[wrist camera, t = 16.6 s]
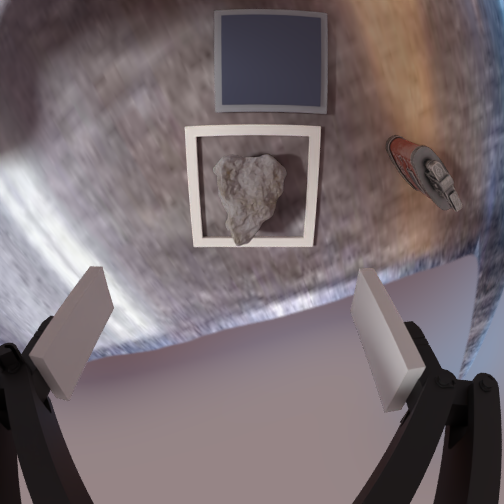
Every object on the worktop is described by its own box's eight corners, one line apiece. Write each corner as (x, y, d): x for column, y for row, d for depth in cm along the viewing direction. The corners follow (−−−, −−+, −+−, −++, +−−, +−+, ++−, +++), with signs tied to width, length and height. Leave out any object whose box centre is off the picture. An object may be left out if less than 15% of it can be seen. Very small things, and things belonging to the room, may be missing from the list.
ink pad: (216, 111, 32) (214, 112, 31) (215, 12, 26) (213, 9, 25) (324, 113, 32) (327, 114, 30) (325, 15, 26) (327, 12, 25)
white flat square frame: (194, 245, 40) (193, 246, 39) (185, 126, 33) (184, 126, 32) (312, 245, 40) (312, 246, 39) (319, 126, 32) (320, 126, 32)
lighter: (379, 146, 33) (418, 166, 24) (399, 129, 32) (442, 144, 23) (413, 194, 36) (452, 226, 27) (431, 178, 35) (474, 206, 26)
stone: (279, 230, 39) (283, 252, 34) (214, 227, 39) (207, 249, 34) (286, 151, 34) (292, 162, 29) (215, 148, 34) (207, 158, 29)
